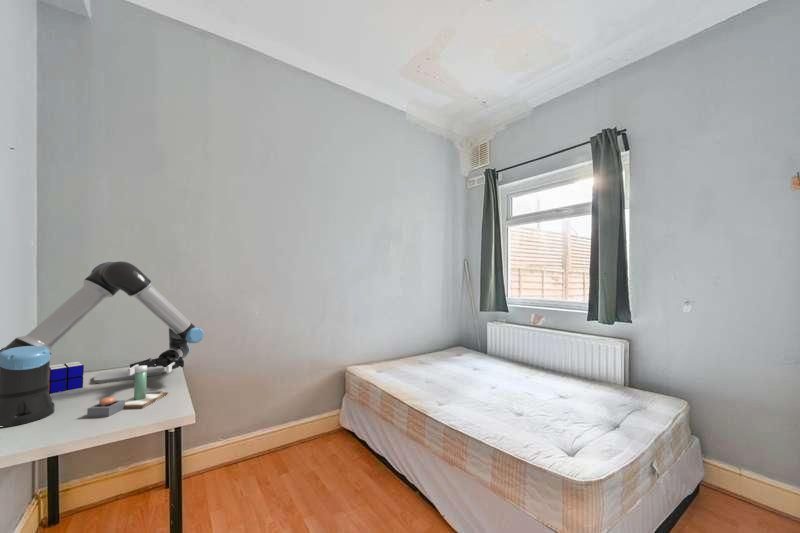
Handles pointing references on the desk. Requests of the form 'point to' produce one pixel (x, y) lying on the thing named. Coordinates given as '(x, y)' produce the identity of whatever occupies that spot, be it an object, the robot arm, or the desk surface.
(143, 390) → the green bottle
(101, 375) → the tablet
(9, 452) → the desk surface
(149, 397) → the open book
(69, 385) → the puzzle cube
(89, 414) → the button box
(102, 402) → the button
